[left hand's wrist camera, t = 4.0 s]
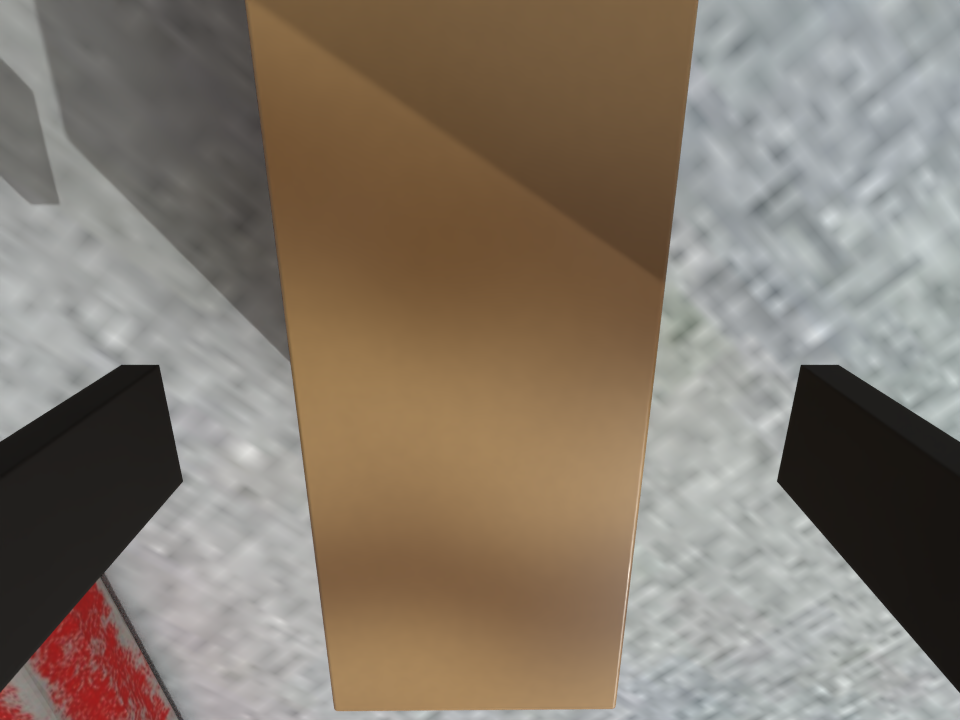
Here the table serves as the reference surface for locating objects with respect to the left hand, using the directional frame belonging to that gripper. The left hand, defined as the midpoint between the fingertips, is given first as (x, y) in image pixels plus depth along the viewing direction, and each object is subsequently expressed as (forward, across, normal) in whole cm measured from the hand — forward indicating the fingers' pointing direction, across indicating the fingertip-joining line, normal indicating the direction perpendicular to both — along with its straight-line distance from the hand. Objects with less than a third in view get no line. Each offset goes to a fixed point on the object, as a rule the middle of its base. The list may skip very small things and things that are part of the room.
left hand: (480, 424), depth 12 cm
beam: (+4, 0, -36) cm, 36 cm away
